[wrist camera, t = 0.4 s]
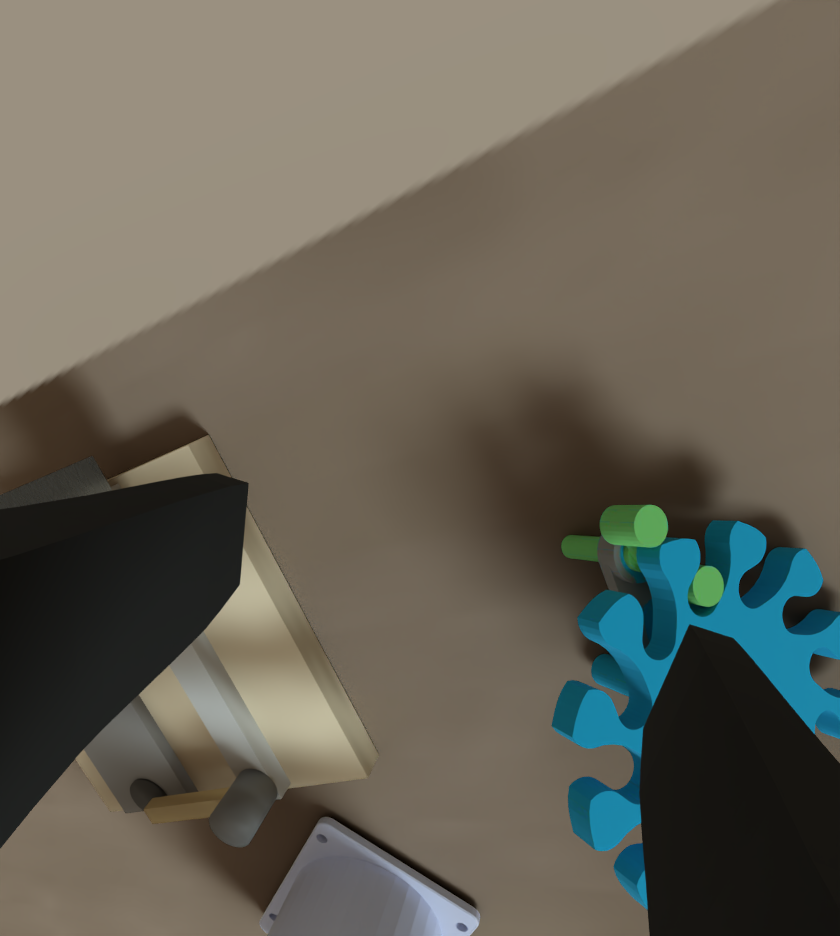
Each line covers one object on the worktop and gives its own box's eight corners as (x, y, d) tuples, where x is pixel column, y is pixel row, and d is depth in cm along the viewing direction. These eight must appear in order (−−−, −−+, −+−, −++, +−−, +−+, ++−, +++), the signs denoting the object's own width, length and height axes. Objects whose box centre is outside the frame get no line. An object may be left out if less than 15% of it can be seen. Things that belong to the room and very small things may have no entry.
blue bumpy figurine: (932, 794, 18) (683, 1046, 14) (750, 726, 23) (537, 893, 19) (810, 425, 17) (508, 589, 13) (651, 447, 22) (407, 566, 18)
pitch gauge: (378, 755, 25) (339, 840, 22) (127, 792, 31) (64, 864, 28) (208, 434, 22) (130, 473, 19) (-34, 542, 28) (-129, 588, 25)
